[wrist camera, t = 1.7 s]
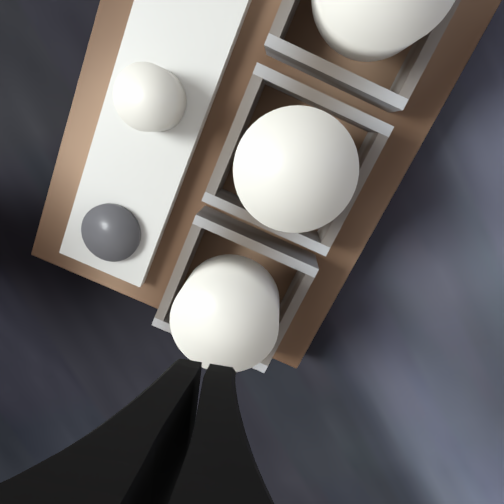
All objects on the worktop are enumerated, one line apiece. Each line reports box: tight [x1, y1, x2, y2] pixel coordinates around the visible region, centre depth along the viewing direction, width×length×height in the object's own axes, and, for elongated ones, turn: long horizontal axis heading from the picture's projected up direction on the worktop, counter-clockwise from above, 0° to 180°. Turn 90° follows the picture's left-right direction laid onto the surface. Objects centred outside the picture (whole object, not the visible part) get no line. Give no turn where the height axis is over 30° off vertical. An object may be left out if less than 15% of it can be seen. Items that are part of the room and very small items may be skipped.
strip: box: [59, 0, 252, 287], centre depth 16 cm, size 4×16×2 cm, turn 156°
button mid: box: [233, 105, 359, 233], centre depth 14 cm, size 4×4×2 cm
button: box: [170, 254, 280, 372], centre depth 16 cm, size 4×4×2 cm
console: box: [31, 0, 502, 373], centre depth 17 cm, size 14×18×4 cm
